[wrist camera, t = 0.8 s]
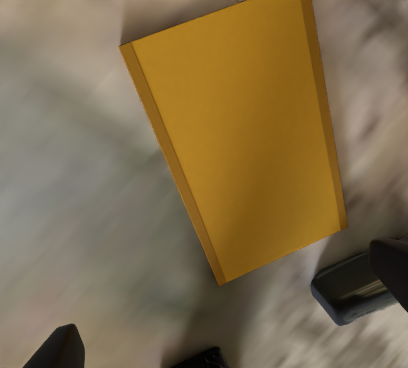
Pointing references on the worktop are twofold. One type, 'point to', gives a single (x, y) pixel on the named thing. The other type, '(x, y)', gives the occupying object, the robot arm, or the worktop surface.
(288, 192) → the yellow flat slab
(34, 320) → the worktop surface
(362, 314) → the mobile phone
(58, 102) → the worktop surface
